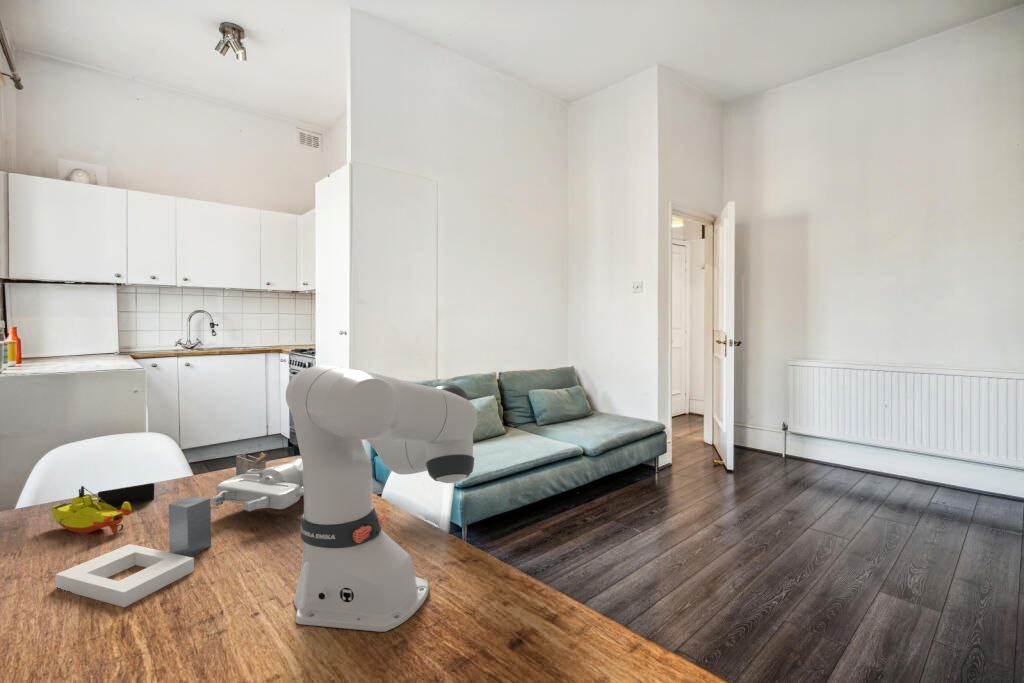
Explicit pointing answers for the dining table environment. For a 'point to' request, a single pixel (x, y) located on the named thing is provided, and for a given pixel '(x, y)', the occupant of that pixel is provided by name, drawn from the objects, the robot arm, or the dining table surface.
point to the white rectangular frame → (156, 575)
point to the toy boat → (89, 514)
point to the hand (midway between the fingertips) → (229, 504)
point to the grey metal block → (189, 525)
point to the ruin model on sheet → (249, 463)
